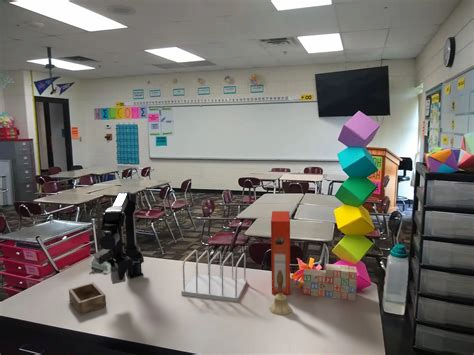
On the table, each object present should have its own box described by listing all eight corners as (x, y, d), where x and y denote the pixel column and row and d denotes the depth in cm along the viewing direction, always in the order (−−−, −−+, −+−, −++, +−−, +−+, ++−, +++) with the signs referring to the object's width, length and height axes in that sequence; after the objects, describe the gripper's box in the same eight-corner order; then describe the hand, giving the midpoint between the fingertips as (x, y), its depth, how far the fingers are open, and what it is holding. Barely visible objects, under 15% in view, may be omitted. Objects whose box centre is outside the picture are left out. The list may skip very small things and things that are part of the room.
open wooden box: (94, 293, 150) (93, 282, 149) (106, 306, 138) (105, 294, 137) (69, 300, 143) (68, 289, 143) (79, 315, 132) (78, 303, 131)
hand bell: (277, 317, 128) (277, 276, 126) (265, 307, 136) (265, 268, 133) (295, 311, 132) (296, 272, 130) (283, 302, 139) (283, 264, 137)
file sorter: (181, 295, 147) (179, 260, 144) (196, 278, 163) (195, 246, 161) (238, 302, 140) (237, 265, 138) (247, 283, 157) (247, 250, 155)
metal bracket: (84, 262, 170) (100, 251, 185) (82, 273, 171) (98, 261, 186) (111, 271, 168) (125, 259, 183) (108, 282, 170) (123, 269, 184)
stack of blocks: (302, 294, 145) (303, 267, 143) (304, 288, 151) (304, 261, 149) (356, 300, 140) (357, 272, 138) (355, 293, 146) (356, 266, 144)
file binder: (271, 294, 146) (270, 221, 141) (272, 276, 163) (272, 211, 158) (290, 295, 145) (290, 221, 140) (289, 277, 162) (289, 211, 157)
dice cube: (112, 284, 136) (111, 272, 135) (111, 279, 141) (110, 267, 140) (125, 281, 138) (124, 269, 138) (123, 276, 143) (122, 265, 142)
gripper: (87, 239, 139) (90, 276, 141) (103, 252, 125) (107, 292, 127) (114, 233, 146) (116, 268, 148) (133, 244, 132) (135, 283, 134)
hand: (118, 277), depth 139 cm, fingers closed on dice cube, 5 cm apart
